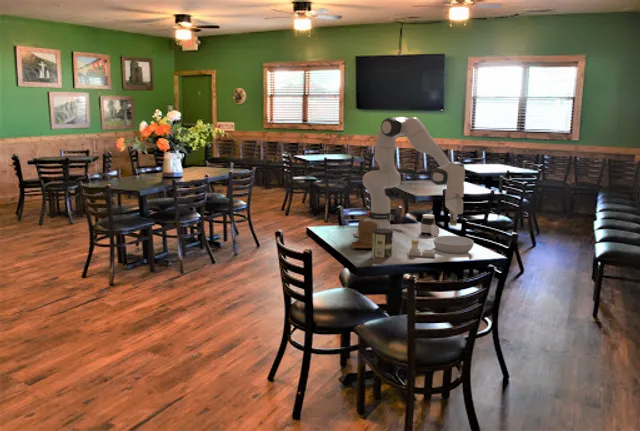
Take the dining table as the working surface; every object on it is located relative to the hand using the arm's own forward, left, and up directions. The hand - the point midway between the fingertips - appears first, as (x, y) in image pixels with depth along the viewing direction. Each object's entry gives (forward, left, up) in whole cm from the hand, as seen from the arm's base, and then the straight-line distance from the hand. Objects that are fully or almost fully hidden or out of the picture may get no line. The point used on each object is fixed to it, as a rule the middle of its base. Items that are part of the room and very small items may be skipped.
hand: (453, 219), depth 295 cm
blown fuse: (0, 0, -3) cm, 3 cm away
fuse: (-20, -14, -17) cm, 29 cm away
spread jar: (-9, +41, -19) cm, 46 cm away
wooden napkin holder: (-46, +1, -19) cm, 50 cm away
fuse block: (-16, -14, -18) cm, 28 cm away
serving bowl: (+1, +1, -19) cm, 19 cm away
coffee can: (-36, -17, -19) cm, 44 cm away
